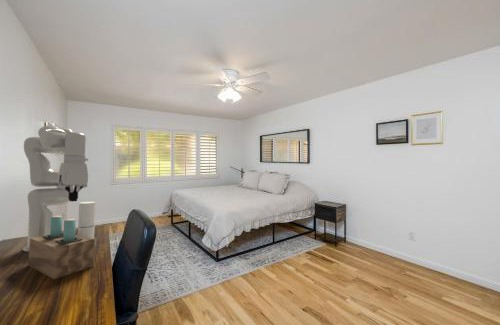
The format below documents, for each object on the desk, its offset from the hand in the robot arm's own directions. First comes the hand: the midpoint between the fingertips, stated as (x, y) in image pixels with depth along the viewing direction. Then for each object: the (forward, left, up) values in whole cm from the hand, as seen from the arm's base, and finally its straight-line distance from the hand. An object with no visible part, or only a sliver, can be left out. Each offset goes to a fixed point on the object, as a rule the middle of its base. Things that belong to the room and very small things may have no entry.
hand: (73, 201), depth 101 cm
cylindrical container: (-16, +14, -29) cm, 36 cm away
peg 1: (-9, -2, -20) cm, 22 cm away
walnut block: (-3, -2, -29) cm, 29 cm away
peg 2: (+3, -2, -20) cm, 20 cm away
